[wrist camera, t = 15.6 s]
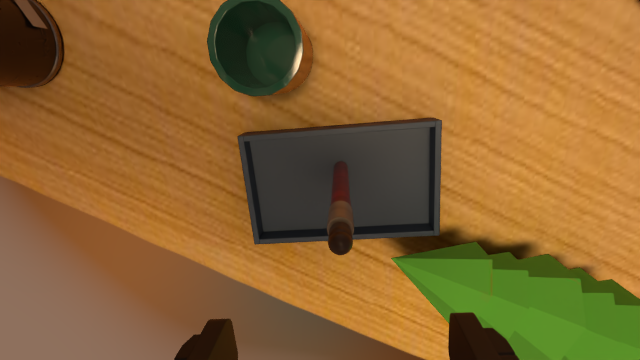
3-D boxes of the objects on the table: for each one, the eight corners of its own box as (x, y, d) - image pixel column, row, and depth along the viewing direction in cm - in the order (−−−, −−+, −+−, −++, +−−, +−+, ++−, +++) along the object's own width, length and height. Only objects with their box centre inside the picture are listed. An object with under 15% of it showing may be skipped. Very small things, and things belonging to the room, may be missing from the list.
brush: (333, 175, 35) (326, 262, 18) (332, 160, 35) (323, 235, 17) (349, 174, 35) (356, 261, 18) (348, 159, 34) (355, 233, 17)
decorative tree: (710, 444, 28) (392, 337, 25) (586, 373, 39) (358, 294, 37) (738, 316, 29) (436, 201, 26) (609, 283, 40) (390, 201, 38)
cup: (248, 96, 34) (216, 99, 25) (237, 21, 32) (199, -3, 23) (316, 89, 33) (307, 91, 25) (309, 13, 31) (297, -14, 23)
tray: (260, 234, 38) (254, 244, 36) (244, 132, 35) (237, 136, 32) (432, 225, 37) (439, 235, 34) (434, 117, 33) (441, 120, 31)
